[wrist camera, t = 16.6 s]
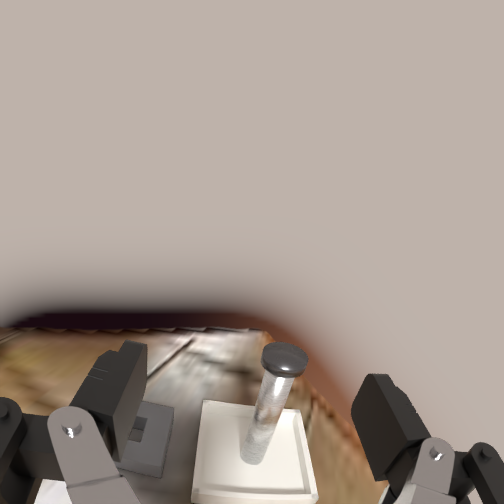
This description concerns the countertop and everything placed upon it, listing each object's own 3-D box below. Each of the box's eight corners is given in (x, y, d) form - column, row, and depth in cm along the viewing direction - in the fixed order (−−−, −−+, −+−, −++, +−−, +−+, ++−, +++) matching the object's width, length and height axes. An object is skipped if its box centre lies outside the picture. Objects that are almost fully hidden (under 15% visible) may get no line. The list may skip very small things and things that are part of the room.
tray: (190, 502, 28) (191, 492, 27) (201, 412, 44) (203, 399, 43) (310, 508, 29) (318, 498, 28) (294, 422, 45) (299, 409, 44)
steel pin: (234, 467, 34) (264, 365, 29) (234, 442, 38) (261, 339, 33) (270, 470, 34) (312, 370, 29) (268, 444, 39) (304, 344, 34)
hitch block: (80, 455, 29) (76, 442, 29) (104, 403, 40) (102, 390, 39) (161, 478, 30) (160, 467, 30) (173, 420, 41) (174, 407, 40)
